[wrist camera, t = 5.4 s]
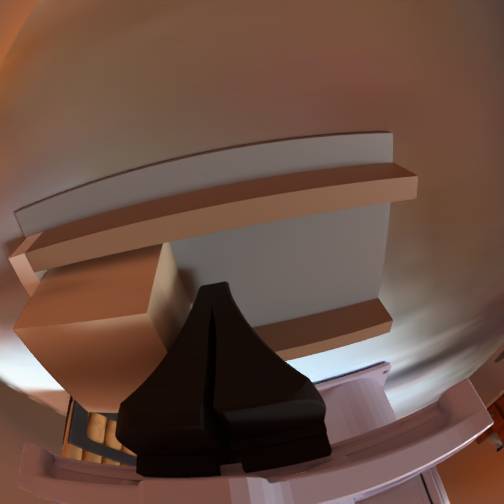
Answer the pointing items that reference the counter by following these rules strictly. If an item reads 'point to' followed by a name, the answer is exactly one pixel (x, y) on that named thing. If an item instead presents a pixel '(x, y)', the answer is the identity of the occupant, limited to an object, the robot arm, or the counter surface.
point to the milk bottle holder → (495, 426)
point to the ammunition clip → (93, 437)
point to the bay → (247, 231)
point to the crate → (106, 323)
